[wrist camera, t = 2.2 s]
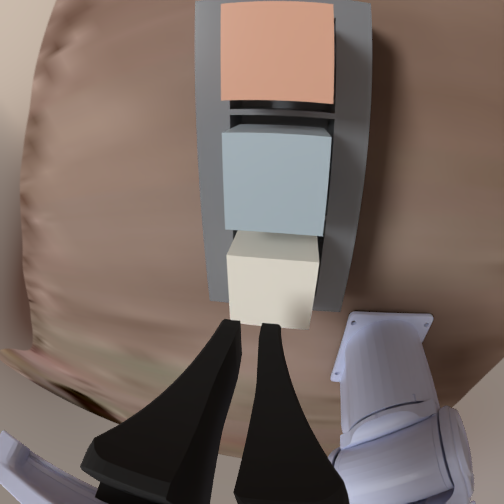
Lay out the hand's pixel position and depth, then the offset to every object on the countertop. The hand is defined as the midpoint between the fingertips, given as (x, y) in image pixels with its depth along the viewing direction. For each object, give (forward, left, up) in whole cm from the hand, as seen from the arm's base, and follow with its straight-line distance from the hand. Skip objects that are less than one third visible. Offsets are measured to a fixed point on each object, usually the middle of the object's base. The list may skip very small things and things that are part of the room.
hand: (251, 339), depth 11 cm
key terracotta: (+11, 0, -7) cm, 13 cm away
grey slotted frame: (+5, 0, -10) cm, 12 cm away
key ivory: (0, 0, -7) cm, 7 cm away
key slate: (+5, 0, -7) cm, 9 cm away
